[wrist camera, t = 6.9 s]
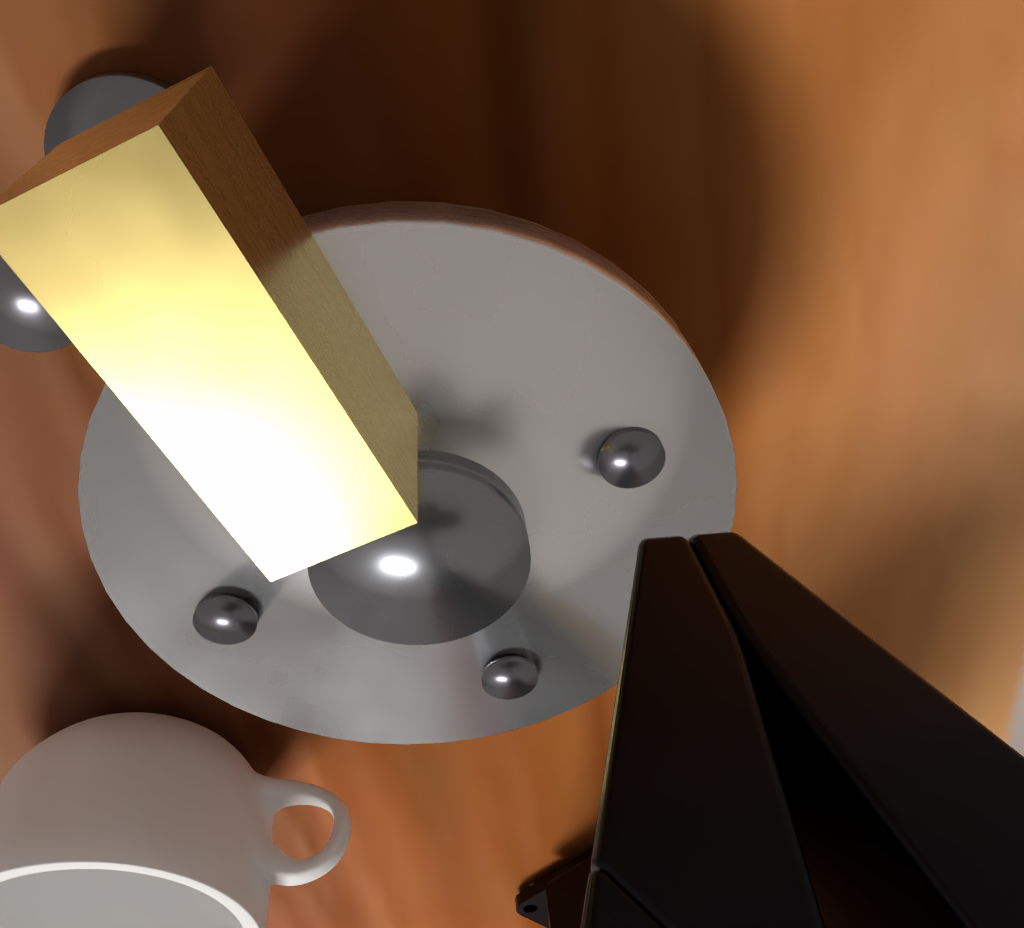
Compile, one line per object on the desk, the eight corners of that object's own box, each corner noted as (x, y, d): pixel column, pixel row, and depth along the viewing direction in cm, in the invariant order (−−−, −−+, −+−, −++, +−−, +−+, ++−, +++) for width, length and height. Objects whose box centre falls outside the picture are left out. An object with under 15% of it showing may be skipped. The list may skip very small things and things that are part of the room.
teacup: (79, 857, 28) (17, 1045, 24) (-48, 700, 24) (-152, 894, 20) (388, 803, 28) (383, 982, 24) (318, 633, 24) (296, 815, 19)
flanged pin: (258, 158, 16) (191, 293, 12) (163, 268, 18) (65, 435, 13) (113, 31, 15) (-32, 124, 10) (18, 159, 16) (-154, 298, 11)
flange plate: (780, 591, 20) (855, 746, 17) (311, 761, 22) (291, 930, 19) (535, -112, 12) (582, -91, 9) (-172, 253, 14) (-362, 389, 11)
